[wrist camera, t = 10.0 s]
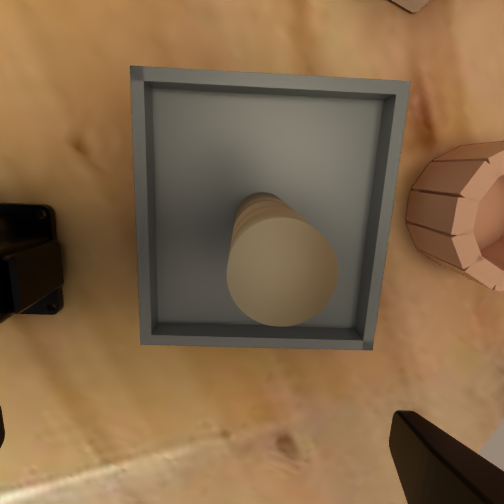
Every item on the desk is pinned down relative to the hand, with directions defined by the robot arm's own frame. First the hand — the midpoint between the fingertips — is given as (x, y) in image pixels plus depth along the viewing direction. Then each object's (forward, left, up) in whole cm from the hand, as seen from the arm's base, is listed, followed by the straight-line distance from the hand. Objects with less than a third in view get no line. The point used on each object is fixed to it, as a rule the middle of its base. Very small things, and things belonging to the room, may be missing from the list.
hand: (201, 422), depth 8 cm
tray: (+2, +3, -13) cm, 13 cm away
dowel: (+2, +3, -12) cm, 13 cm away
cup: (+14, +4, -13) cm, 20 cm away
